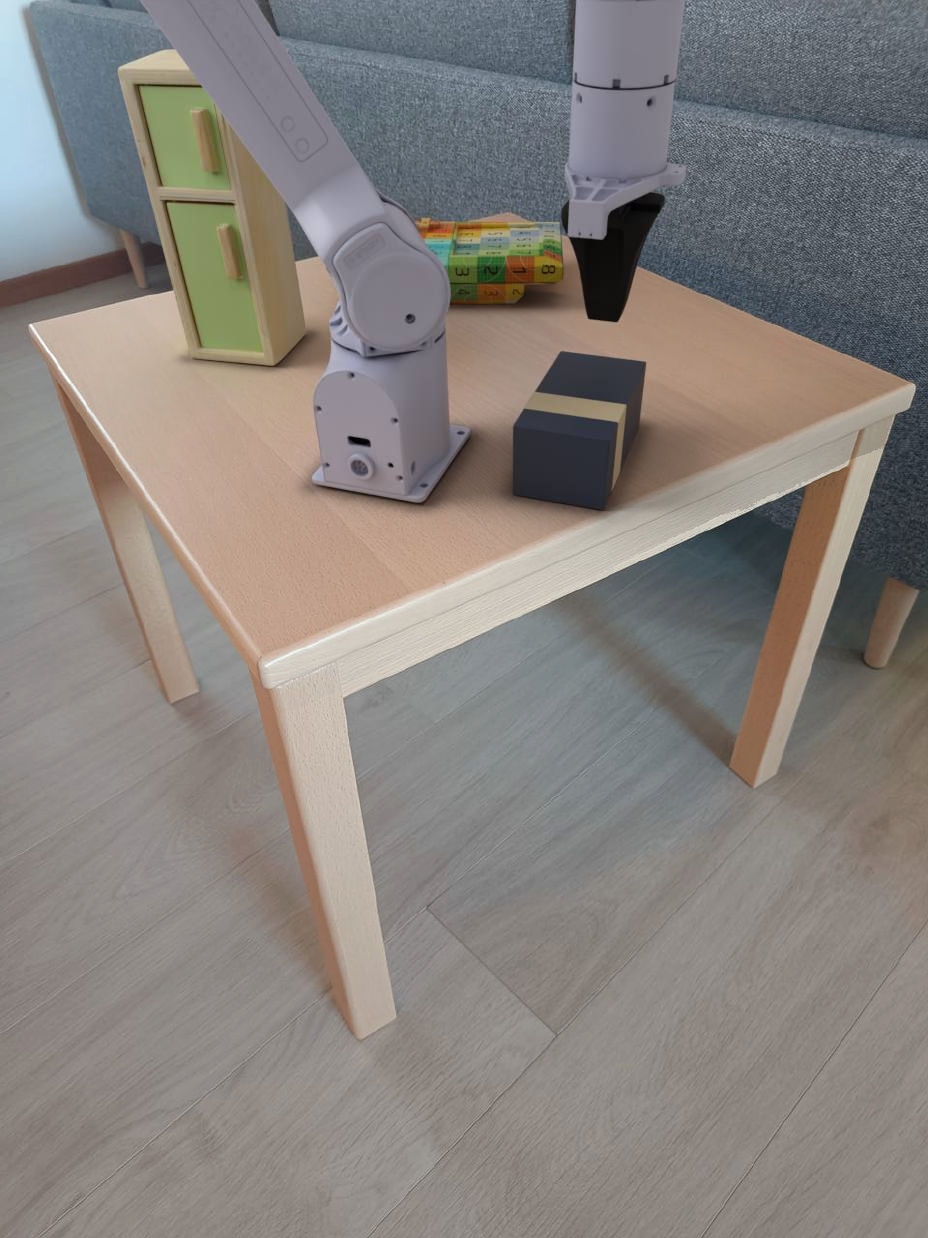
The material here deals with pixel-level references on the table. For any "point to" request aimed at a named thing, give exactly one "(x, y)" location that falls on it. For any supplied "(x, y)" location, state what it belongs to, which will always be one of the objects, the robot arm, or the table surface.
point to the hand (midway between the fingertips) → (604, 316)
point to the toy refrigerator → (213, 218)
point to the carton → (578, 429)
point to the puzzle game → (494, 257)
